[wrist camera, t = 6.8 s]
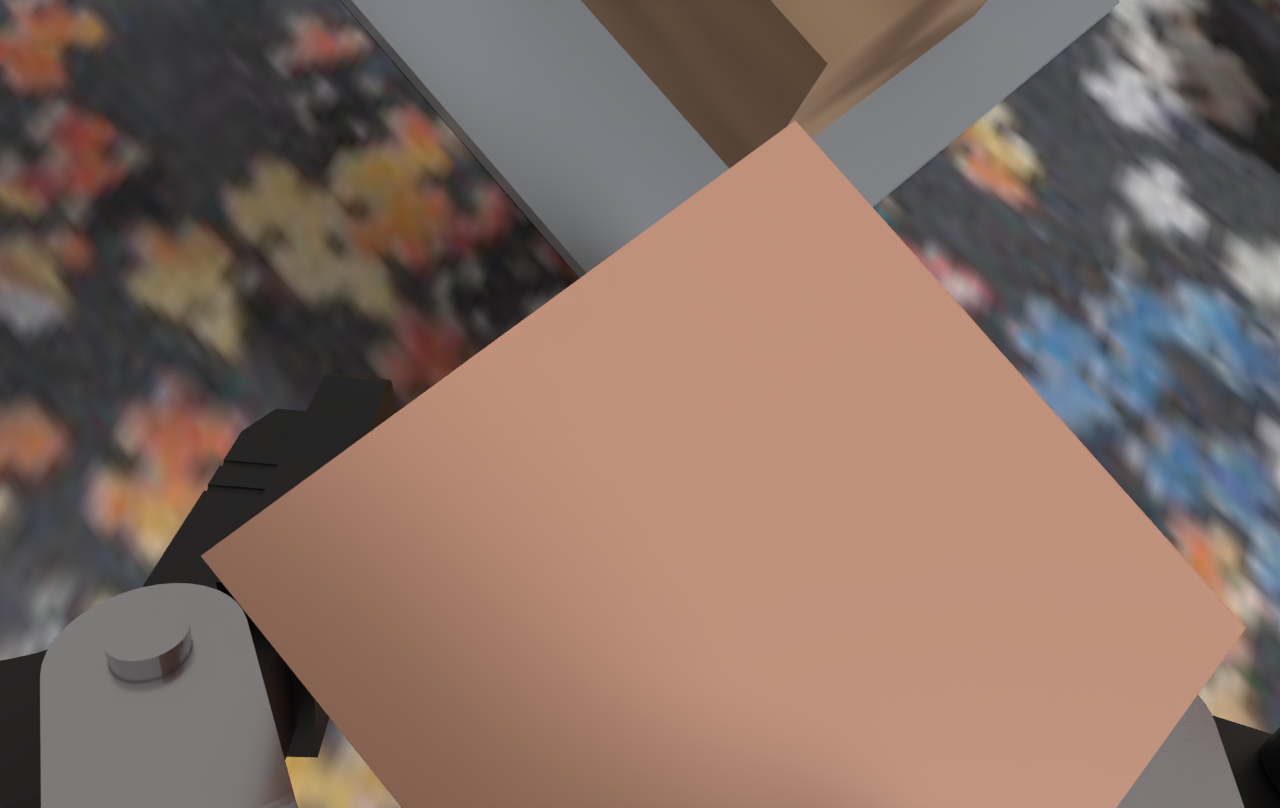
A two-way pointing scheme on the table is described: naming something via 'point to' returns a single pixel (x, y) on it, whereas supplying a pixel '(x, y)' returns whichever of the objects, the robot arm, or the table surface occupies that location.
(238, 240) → the table surface
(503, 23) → the building mat
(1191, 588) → the tall block
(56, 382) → the table surface
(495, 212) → the table surface
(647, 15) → the base slab
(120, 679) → the robot arm
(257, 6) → the table surface
